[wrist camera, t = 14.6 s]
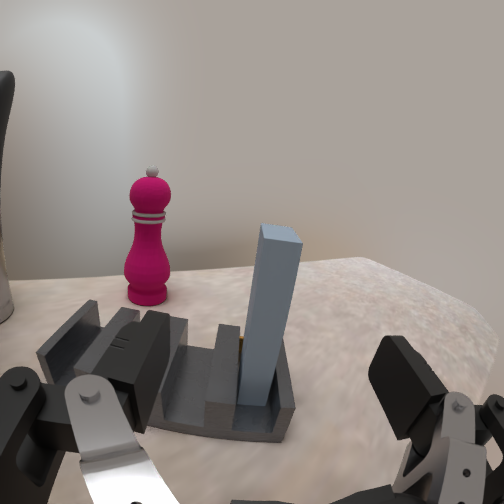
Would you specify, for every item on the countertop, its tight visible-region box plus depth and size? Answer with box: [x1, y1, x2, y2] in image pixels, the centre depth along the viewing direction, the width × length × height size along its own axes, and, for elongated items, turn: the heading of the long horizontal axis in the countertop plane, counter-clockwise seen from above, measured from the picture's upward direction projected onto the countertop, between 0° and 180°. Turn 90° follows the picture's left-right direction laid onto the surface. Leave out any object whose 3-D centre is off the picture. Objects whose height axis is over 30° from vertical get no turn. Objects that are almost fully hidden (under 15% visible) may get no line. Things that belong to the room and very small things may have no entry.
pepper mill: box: [124, 166, 171, 306], centre depth 38 cm, size 7×7×20 cm
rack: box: [36, 300, 295, 442], centre depth 23 cm, size 22×11×5 cm, turn 90°
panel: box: [237, 223, 303, 406], centre depth 22 cm, size 2×5×15 cm, turn 0°
